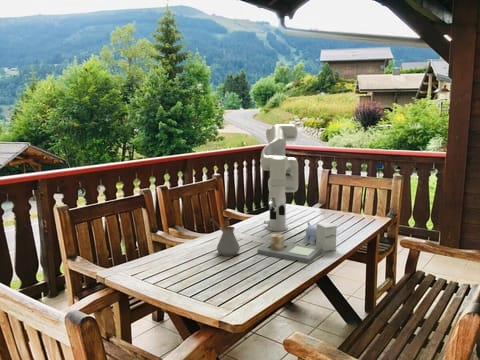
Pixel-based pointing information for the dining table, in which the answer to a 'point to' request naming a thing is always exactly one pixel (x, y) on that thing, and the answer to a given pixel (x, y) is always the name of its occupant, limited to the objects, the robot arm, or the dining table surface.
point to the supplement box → (326, 236)
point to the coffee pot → (227, 241)
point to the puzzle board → (291, 252)
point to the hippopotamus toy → (310, 233)
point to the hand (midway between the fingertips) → (277, 217)
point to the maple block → (277, 242)
